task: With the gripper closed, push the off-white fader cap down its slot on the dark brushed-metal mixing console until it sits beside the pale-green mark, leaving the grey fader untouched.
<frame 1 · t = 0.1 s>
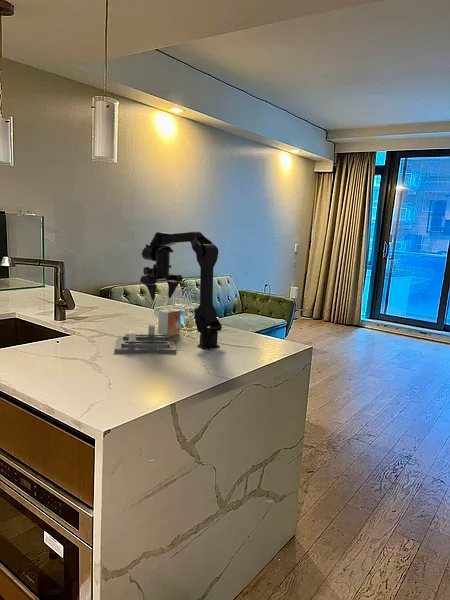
hand: (161, 298, 194), 15 cm above the countertop, fingers open, 9 cm apart
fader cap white: (132, 338, 169), point 4 cm above the countertop, slide at 5.0 cm
small box: (168, 335, 194), on the countertop
fader cap grey: (151, 332, 180), point 4 cm above the countertop, slide at 0.0 cm
console: (145, 346, 174), on the countertop
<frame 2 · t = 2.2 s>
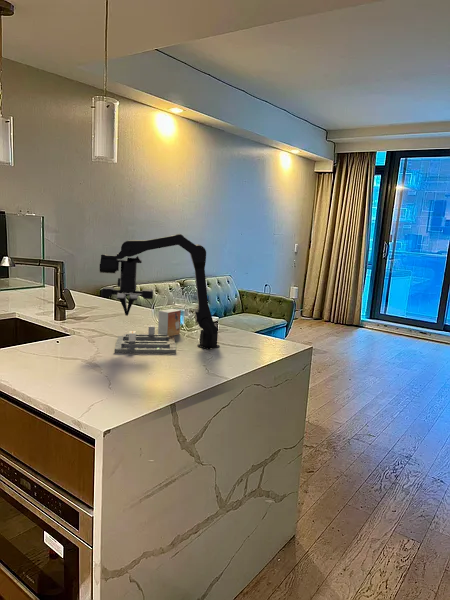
hand: (126, 315, 172), 12 cm above the countertop, fingers closed
nothing on the countertop moved.
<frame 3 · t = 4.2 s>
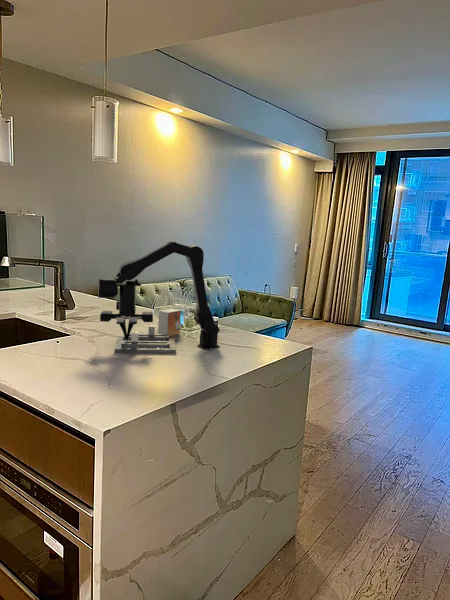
hand: (126, 339, 169), 4 cm above the countertop, fingers closed
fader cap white: (134, 338, 169), point 4 cm above the countertop, slide at 4.1 cm, touching gripper
everything else where it was.
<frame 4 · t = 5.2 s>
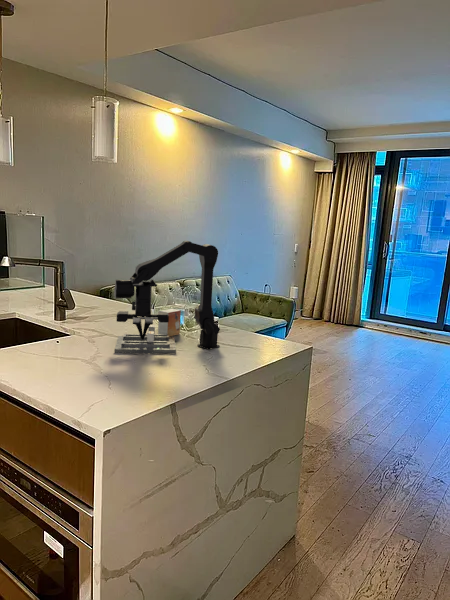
hand: (142, 339, 170), 4 cm above the countertop, fingers closed
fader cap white: (150, 338, 170), point 4 cm above the countertop, slide at -1.7 cm, touching gripper
everything else where it was.
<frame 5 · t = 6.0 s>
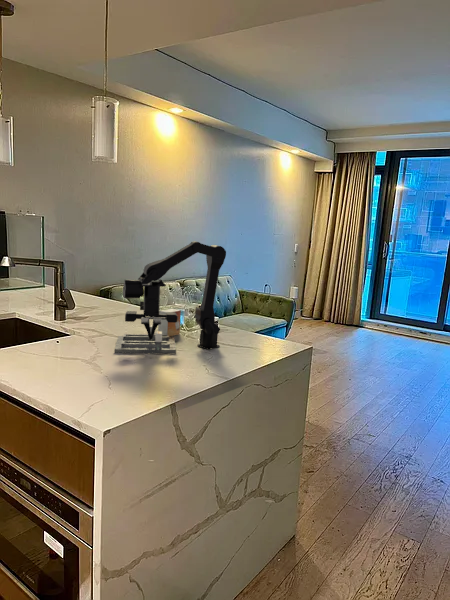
hand: (150, 339, 170), 4 cm above the countertop, fingers closed
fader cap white: (158, 339, 170), point 4 cm above the countertop, slide at -4.6 cm, touching gripper
everything else where it was.
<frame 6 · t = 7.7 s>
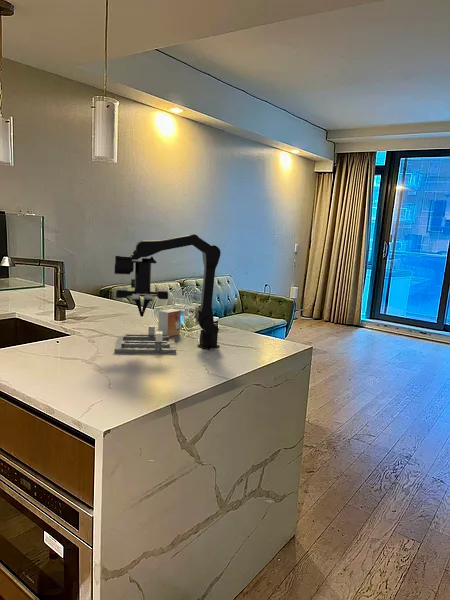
hand: (141, 316, 170), 12 cm above the countertop, fingers closed
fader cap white: (158, 339, 170), point 4 cm above the countertop, slide at -4.7 cm
everything else where it was.
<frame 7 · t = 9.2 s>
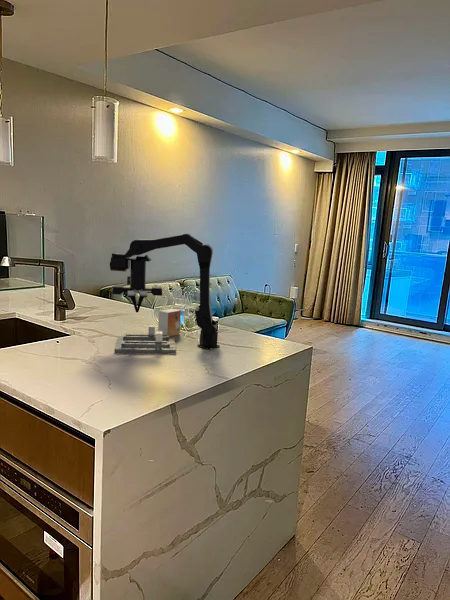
hand: (137, 312, 177), 12 cm above the countertop, fingers closed
nothing on the countertop moved.
at the end: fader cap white slide at -4.7 cm; fader cap grey slide at 0.0 cm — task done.
